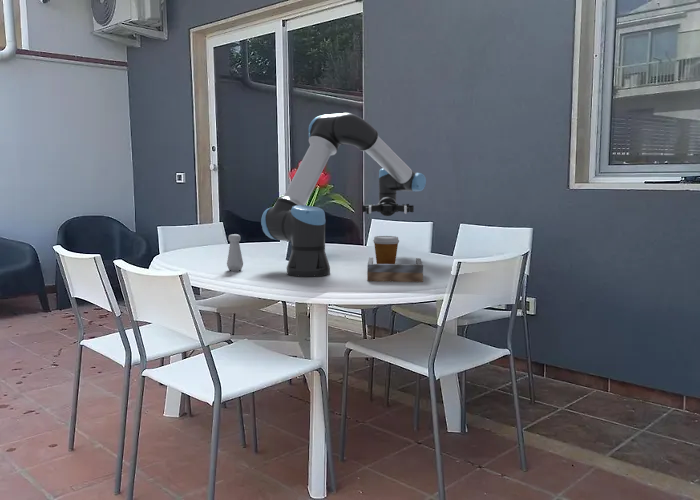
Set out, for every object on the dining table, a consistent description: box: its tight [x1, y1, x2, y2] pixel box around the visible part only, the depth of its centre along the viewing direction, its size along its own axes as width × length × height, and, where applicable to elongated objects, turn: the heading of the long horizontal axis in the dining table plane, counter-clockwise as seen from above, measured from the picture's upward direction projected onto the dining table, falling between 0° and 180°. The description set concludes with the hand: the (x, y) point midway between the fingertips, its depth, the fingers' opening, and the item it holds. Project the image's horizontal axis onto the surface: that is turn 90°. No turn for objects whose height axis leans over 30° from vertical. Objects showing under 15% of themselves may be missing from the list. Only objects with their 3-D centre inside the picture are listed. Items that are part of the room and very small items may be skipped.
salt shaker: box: [226, 233, 244, 272], centre depth 215 cm, size 6×6×13 cm
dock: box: [366, 257, 424, 283], centre depth 203 cm, size 18×16×6 cm
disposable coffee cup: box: [372, 235, 400, 264], centre depth 218 cm, size 10×10×12 cm
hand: (387, 210), depth 227 cm, fingers open, 13 cm apart
